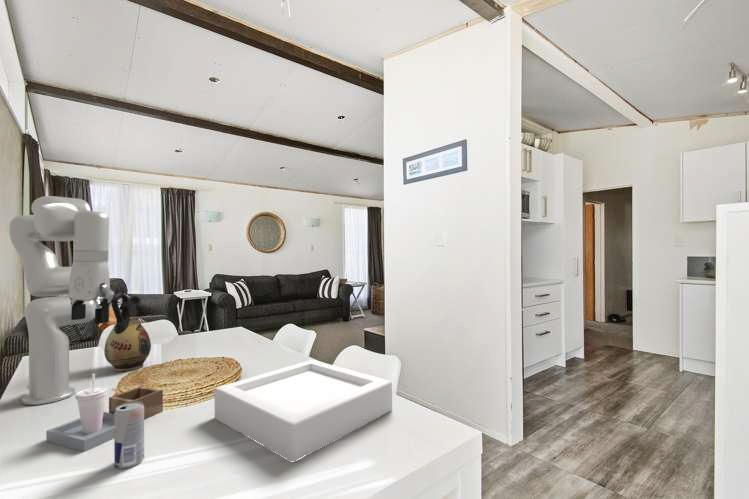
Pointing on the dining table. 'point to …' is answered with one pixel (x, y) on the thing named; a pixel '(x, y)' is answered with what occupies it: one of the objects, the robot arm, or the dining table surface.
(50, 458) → the dining table surface
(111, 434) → the slate tray
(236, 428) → the tray
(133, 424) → the energy drink
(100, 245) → the robot arm
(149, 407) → the deep holder
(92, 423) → the smoothie
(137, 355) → the ceramic jug
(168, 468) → the dining table surface
